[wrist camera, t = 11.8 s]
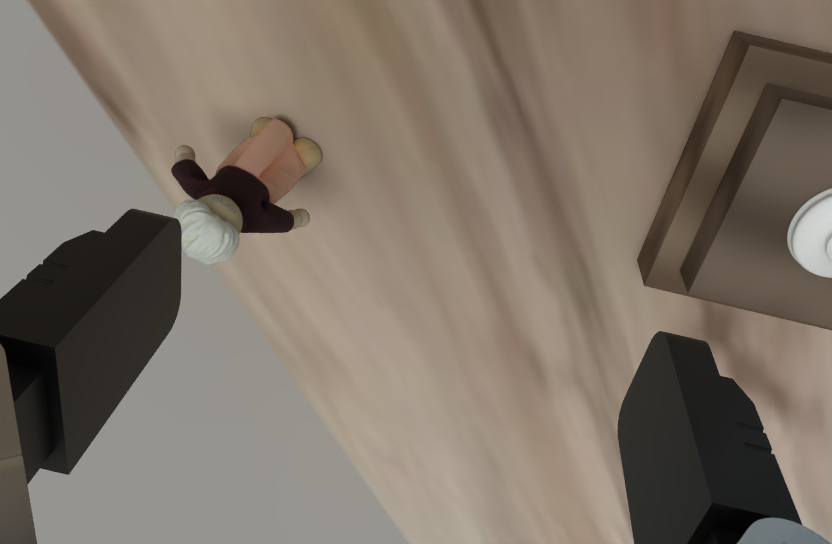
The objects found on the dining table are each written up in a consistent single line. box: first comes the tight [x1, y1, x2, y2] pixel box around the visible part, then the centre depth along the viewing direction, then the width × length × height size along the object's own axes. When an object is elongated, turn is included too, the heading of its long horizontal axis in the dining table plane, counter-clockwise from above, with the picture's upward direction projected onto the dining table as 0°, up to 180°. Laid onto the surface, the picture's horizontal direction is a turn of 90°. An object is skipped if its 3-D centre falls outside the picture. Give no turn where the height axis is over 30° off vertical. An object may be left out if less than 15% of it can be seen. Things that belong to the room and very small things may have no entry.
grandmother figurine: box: [171, 117, 322, 264], centre depth 38 cm, size 8×4×13 cm, turn 71°
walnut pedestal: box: [637, 31, 832, 330], centre depth 38 cm, size 14×14×6 cm
